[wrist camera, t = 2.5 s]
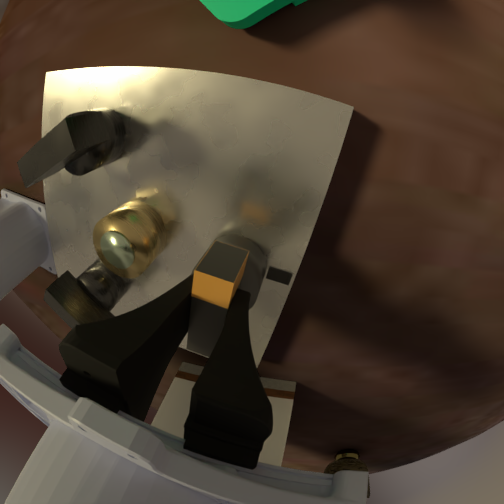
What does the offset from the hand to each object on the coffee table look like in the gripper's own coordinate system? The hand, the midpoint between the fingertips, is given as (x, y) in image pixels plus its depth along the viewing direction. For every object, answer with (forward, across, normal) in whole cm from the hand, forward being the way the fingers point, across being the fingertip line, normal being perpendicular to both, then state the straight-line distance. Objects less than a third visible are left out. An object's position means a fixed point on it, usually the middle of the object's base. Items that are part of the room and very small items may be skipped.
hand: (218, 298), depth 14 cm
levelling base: (+5, +6, 0) cm, 8 cm away
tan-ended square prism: (+3, 0, 0) cm, 3 cm away
